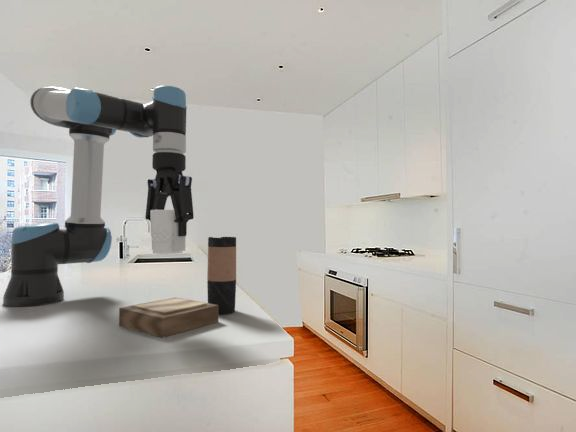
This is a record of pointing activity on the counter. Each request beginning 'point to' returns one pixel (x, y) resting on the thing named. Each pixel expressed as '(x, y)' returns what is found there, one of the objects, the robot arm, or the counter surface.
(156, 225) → the white cup
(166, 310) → the walnut riser
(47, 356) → the counter surface
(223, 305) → the travel mug
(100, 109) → the robot arm
